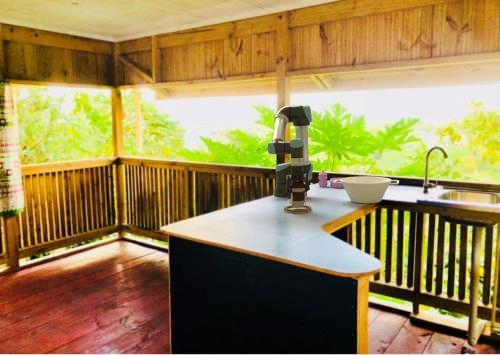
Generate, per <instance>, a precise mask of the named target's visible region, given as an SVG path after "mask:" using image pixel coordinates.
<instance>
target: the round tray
mask: <svg viewBox="0 0 500 355" xmlns="http://www.w3.org/2000/svg"><path fill="white" fill-rule="evenodd" d="M283 211H284V212H285V213H288V214H294V215H295V214H307V213H311V212H312V211H313V209H312V206H310V205H307V204H304V207H302V208H293V207H292V204H290V205H286V206H284V208H283Z"/></svg>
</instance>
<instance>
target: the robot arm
mask: <svg viewBox="0 0 500 355" xmlns="http://www.w3.org/2000/svg"><path fill="white" fill-rule="evenodd" d="M273 121H274V127H273V134H272V140H271V141H269V142H267V153H268V154H269V155H290V157H289V158H290V161H289V162H285V163H283V162H282V163H281V164H280V163H279V164H276V166H275V183H276V184H275V186H274V187H275V188H274V190H273V196H274V197H281V198H288V199H289V200H288V201H289V204H290V205H292V204H293V196H292V193H291V192H292V188H289V185H291V186H293V183H295V182H296V181H300V182H303V183H304V184H306V187H305V200H304V204H305V203H307V197H308V192H309V191H310V190H311V187H310V181H311V180H312V178H313V171H314V170H313V169H314V164H312V161H311V160H310V157H309V156H310V155H309V154H310V153H309V127H310V125H311V123H312V122H313V116H312V110H311V106H310V105H308V104H295V105H294V104H293V105H285V106H283V107H281V108H280V109H279V110H278V111H276V114H275V115H274V119H273ZM290 123H292V126H293V127H294V129H295V138H291V139H290V140H289V141H285V138H286V129H287V125H288V124H290Z"/></svg>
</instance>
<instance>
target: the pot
mask: <svg viewBox="0 0 500 355" xmlns="http://www.w3.org/2000/svg"><path fill="white" fill-rule="evenodd" d="M342 178H343V179H336V180H335V181H333V183H342V184H343V186H344V188H343V189H344V190H345V192H346V194H347V196H348V198H349V200H350V201H351V202H353V203H355V204H362V203H363V204H365V205H366V204H367V205H369V204H378V203H381V201H382V200H383V198H384V196H385V194H386V192H387V189H388V188H389V186H390V185H399V184H400V180H398V179H391V178H388V177H384V176H370V175H369V176H366V175H365V176H364V175H363V176H348V177H342ZM337 180H340V181H341V182H336V181H337Z"/></svg>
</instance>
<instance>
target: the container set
mask: <svg viewBox="0 0 500 355" xmlns="http://www.w3.org/2000/svg"><path fill="white" fill-rule="evenodd" d="M343 178H344V177H332V178H329V179H330V180H329V183H328V181H327V179H328V173H327V172H326V171H325V170H321V172H319V173H318V180H319V181H318V183H317V184H318V186H319V187H320V186H321V187H320V188H326V187H327V186H328V184H329V188H331V189H345V188H344V186H343V184H342V183H333V181H335V180H336V179H343ZM336 182H341V181H340V180H337V181H336Z"/></svg>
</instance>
